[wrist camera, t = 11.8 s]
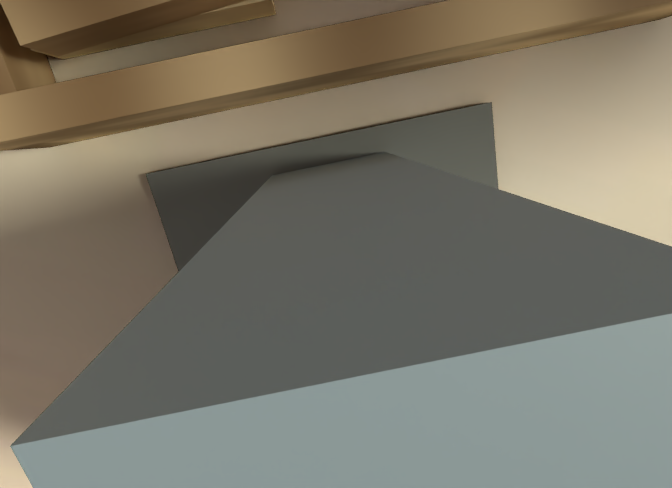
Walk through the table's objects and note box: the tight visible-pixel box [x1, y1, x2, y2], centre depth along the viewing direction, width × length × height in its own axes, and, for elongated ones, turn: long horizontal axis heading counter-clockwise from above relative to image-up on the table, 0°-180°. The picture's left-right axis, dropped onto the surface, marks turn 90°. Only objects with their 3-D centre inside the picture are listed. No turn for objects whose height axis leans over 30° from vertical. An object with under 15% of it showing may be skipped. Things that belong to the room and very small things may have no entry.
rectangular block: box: [10, 152, 672, 488], centre depth 9 cm, size 4×10×12 cm, turn 11°
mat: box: [146, 102, 498, 271], centre depth 15 cm, size 12×12×1 cm
